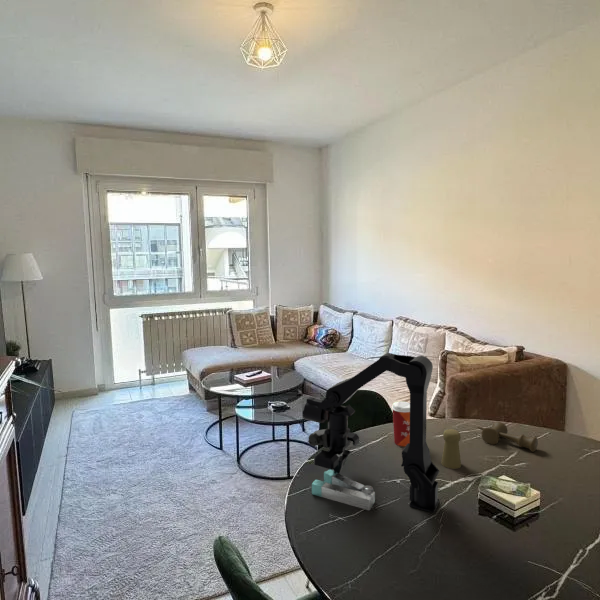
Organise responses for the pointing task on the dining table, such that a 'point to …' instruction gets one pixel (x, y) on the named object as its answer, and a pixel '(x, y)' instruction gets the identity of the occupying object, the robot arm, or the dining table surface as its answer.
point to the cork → (451, 449)
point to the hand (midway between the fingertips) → (337, 475)
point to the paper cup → (401, 423)
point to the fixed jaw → (345, 494)
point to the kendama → (507, 436)
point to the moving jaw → (341, 481)
